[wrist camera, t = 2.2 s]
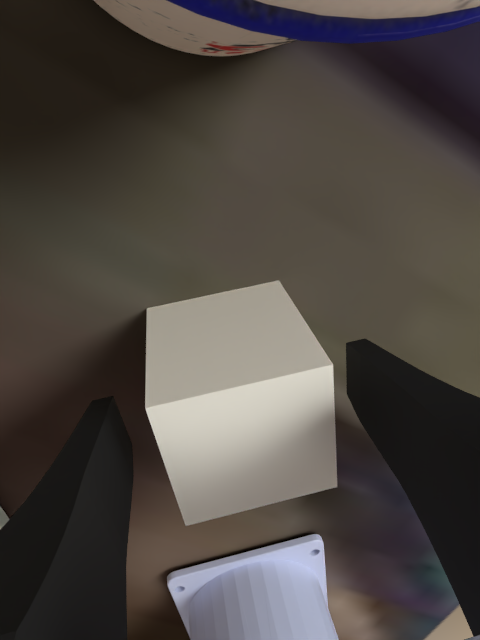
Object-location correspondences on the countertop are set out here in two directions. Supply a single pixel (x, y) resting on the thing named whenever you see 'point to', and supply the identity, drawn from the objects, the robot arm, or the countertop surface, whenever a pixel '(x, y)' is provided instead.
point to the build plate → (3, 518)
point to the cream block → (239, 401)
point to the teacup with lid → (285, 21)
